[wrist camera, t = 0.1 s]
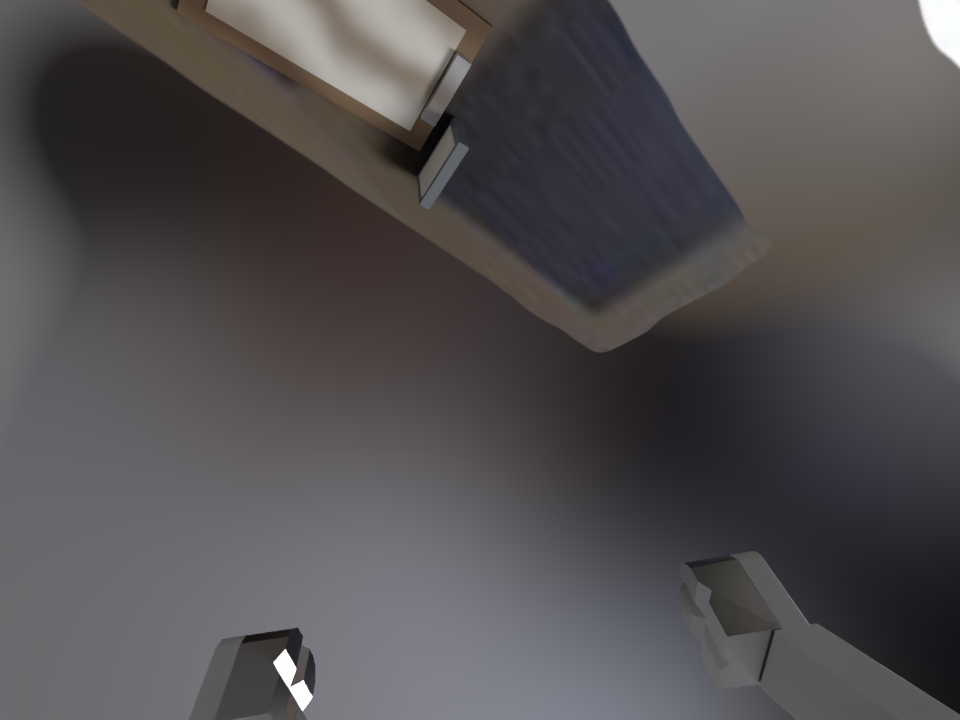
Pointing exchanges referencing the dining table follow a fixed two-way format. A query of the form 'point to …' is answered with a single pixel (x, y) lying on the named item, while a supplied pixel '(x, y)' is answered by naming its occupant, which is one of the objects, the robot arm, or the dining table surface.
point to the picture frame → (442, 163)
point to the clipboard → (358, 51)
